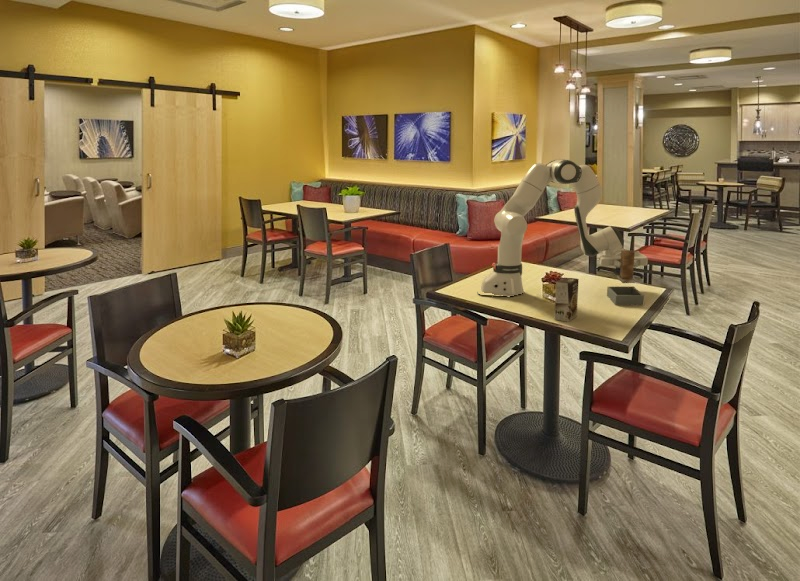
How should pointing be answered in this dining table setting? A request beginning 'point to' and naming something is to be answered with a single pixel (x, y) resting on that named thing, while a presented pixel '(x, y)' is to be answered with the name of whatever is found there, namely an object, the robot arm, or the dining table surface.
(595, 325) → the dining table surface
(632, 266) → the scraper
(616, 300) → the tray
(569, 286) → the coffee box
